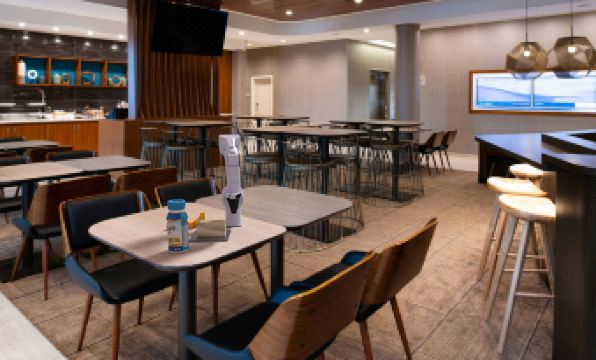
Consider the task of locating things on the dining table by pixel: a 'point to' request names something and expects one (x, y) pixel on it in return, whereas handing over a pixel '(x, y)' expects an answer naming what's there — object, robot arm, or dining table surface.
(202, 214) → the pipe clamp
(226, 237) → the bolt plate
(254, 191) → the dining table surface
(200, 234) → the spacer bar
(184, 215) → the beverage bottle
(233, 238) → the dining table surface
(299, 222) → the dining table surface
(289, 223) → the dining table surface
